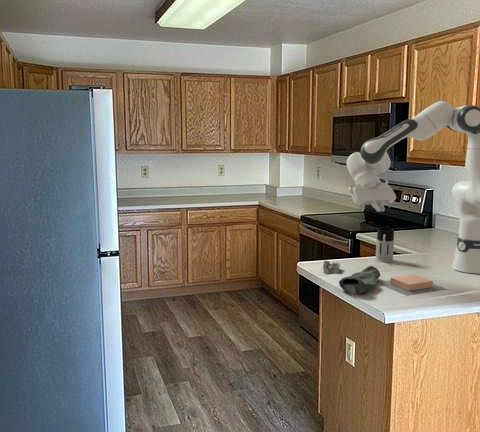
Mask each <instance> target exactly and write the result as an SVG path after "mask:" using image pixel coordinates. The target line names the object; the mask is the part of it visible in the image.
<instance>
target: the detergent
mask: <svg viewBox="0 0 480 432" xmlns="http://www.w3.org/2000/svg"><path fill="white" fill-rule="evenodd" d="M380 277H381V273H380V271H379V269H378V268H377V267H376V266H373V265H368V266H367V267H365V268H364V269H362V270H360V271H358V272H354V273H352V274H351V275H348V276H345V277H342V278H341V279H340V280H339V281H338V284H339V285H338V286H340V288H341V289H342V290H343V292H346V293H347V294H352V295H353V294H354V295H360V294H364V293H365V292H366V291H368V290H369V289H370V288H372V287H374V286H376V284H377V283H376V282H378V279H379V278H380Z"/></svg>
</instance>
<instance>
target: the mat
mask: <svg viewBox="0 0 480 432" xmlns="http://www.w3.org/2000/svg"><path fill="white" fill-rule="evenodd" d="M390 282H391V279H390V280H389V279H388V280H382V281H377V282H376V284H378V285H380V286H382V287H384V288H387V289H389V290H392V291H394V292H397V293H400V294H401V295H404V296H407V297H408V296H413V295H421V294H426V293H427V294H429V293H432V292H439V291H446V290H448V288H445V287H443V286H441V285H437V284H435V283H433V287H431V288H425V289H418V290H412V291H407V290H405V289H402V288H400V287H397V286H395V285H392V284H390Z"/></svg>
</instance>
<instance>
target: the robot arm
mask: <svg viewBox="0 0 480 432" xmlns="http://www.w3.org/2000/svg"><path fill="white" fill-rule="evenodd" d="M445 127H446V128H448V129H449V130H450V131H453V132H454V133H462V134H463V133H465V134H466V137H467V145H466V146H467V147H466V154H465V165H464V166H465V169H466V171H467V172H468V174H469V179H468V180H462V181H458V182H456V183H455V184H454V185H452V186H453V187H452V189H451V196H452V198H453V199H454V201H455V204H456V206H457V211H458V220H459V227H458V229H459V230H458V236H457V238H456V246H457V247H456V248H455V251H454V257H453V258H454V259H453V262H452V263H451V265H452V266H451V268H452V269H453V270H454V271H457V272H462V273H468V274H478V275H480V107H479V106H477V105H474V104H469V105H461V106H459V107H453V106H452V105H451V104H450V103H449V102H448V101H446V100H439V101H436V102H434V103H432V104H431V105H429V106H427V107H425V108H424V109H423V110H422V111H421V112H419V113H417V115H415V116H413V117H411V118H409V119H405V120H403V121H401V122H399V123H398V124H396V125H395V126H393V127H392V128H390V129H388V130H387V131H385V132H383V133H381V134H380V135H379V136H377V137H374V138H371V139H368V140H366V141H364V143H363V144H362V145H361V148H360V150H359V152H358V151H355V152H353V153H352V154H350V155H349V156H348V158H347V159H346V167H347V170H348V173H349V174H350V177H351V178H352V179H353V181H354V184H355V185H350V187H348V190H349V192H350V195H351V199H352V201H353V203H354V204H355V205H356V206H364V205H368V206H369V205H371V207H372V208H373V209H375V211H376V213H377V212H378V213H379V212H380V213H381V212H382V213H383V212H384V211H385V204H392V203H394V202H395V201H396V199H397V195H396V193H395V191H394V190H393V188H392V187H391V186H390V185H389V181H388V180H387V179H385V178H381V177H378V176H379V175H381V174H384V173H385V172H388V170H389V169H390V168H391V165H392V160H391V159H390V156H389V154H388V152H387V151H388V149H390V147H391V148H392V146H394V145H395V144H397V143H399V142H400V141H401V140H403V139H405V138H412V139H413V140H416V141H419V142H423V141H426V140H428V139H430V138H432V137H433V136H434V135H436V134H437V133H438V132H440V131H441V129H443V128H445Z"/></svg>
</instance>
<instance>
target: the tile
mask: <svg viewBox="0 0 480 432" xmlns="http://www.w3.org/2000/svg"><path fill="white" fill-rule="evenodd" d="M390 280H391V282H390V284H392V285H395V286H397V287H400V288H402V289H405V290H407V291H412V290H418V289H425V288H431V287H433V284H434V281H433V280H432V279H429V278H426V277H424V276H420V275H418V274H406V275H400V276H392V277H390Z"/></svg>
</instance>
